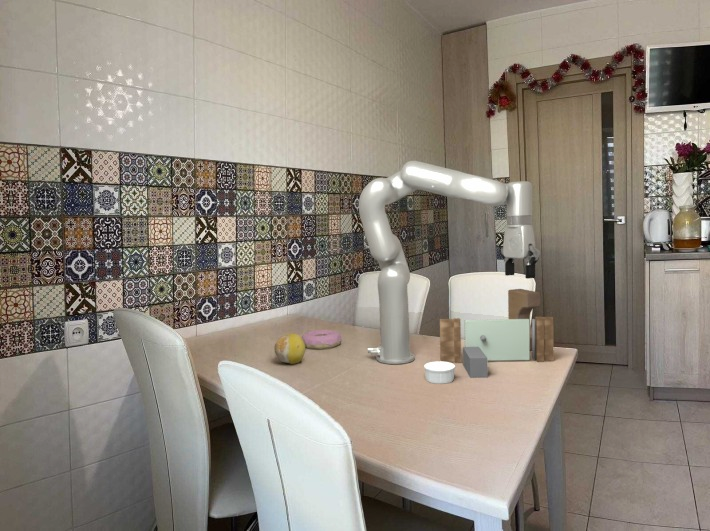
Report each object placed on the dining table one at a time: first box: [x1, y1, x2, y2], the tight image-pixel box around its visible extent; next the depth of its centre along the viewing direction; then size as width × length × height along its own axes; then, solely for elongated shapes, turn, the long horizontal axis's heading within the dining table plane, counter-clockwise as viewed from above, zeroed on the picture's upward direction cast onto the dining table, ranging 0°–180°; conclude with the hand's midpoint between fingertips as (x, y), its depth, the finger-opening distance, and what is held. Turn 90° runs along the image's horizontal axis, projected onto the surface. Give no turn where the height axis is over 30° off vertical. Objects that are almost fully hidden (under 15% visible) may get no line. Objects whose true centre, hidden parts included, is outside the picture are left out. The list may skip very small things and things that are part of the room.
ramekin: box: [423, 360, 456, 385], centre depth 150 cm, size 9×9×4 cm
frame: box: [439, 316, 554, 364], centre depth 166 cm, size 35×2×14 cm, turn 85°
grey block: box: [462, 346, 488, 379], centre depth 157 cm, size 5×13×6 cm, turn 177°
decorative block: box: [507, 288, 541, 352], centre depth 182 cm, size 11×6×20 cm, turn 17°
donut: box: [300, 329, 343, 350], centre depth 196 cm, size 16×15×5 cm
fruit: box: [274, 333, 306, 365], centre depth 173 cm, size 10×11×10 cm
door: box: [464, 318, 536, 362], centre depth 165 cm, size 22×3×13 cm, turn 85°
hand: (519, 276), depth 163 cm, fingers open, 9 cm apart
